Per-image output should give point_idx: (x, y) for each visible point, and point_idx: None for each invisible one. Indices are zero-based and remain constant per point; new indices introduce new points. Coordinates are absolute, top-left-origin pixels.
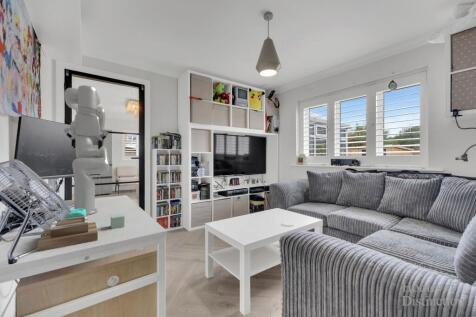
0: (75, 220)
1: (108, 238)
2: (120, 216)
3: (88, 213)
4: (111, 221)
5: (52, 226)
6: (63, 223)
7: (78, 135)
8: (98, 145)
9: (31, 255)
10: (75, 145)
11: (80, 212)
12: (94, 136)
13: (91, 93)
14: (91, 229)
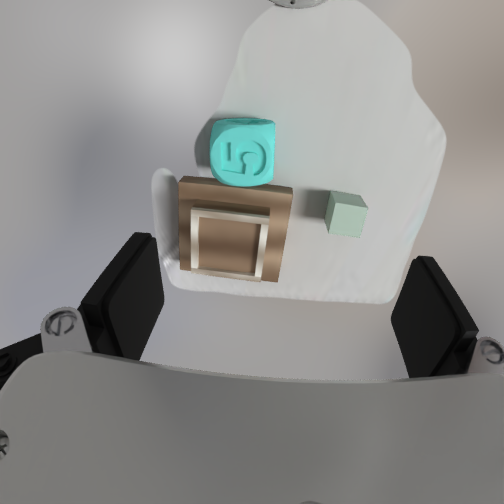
0: (239, 224)
1: (297, 276)
2: (351, 232)
3: (304, 7)
4: (328, 217)
5: (193, 266)
6: (213, 236)
7: (98, 365)
8: (406, 333)
9: (178, 271)
10: (155, 319)
11: (255, 184)
12: (468, 386)
13: None
14: (271, 255)
